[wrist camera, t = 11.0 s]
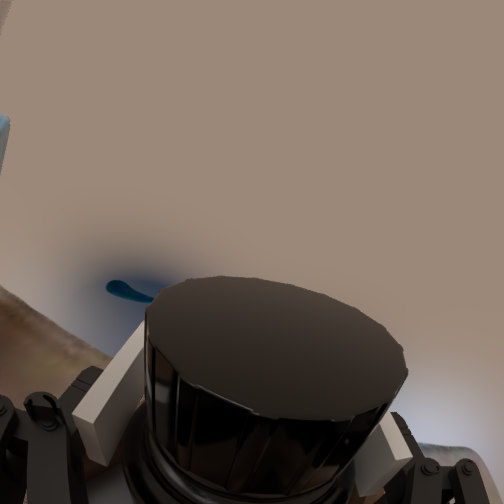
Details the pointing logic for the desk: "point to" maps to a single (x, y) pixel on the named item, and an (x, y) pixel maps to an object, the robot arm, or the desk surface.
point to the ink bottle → (256, 395)
